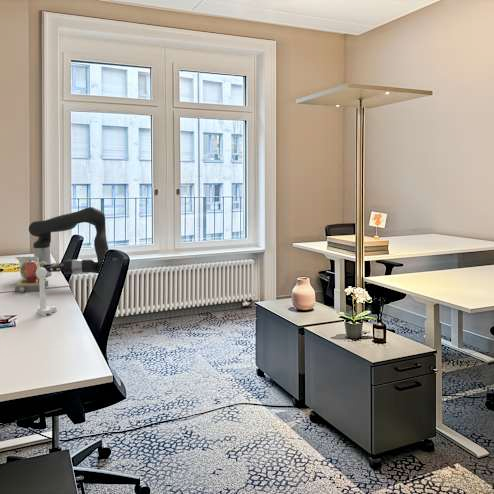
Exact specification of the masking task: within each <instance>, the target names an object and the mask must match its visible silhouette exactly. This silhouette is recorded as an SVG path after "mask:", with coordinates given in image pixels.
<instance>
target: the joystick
mask: <svg viewBox="0 0 494 494" xmlns="http://www.w3.org/2000/svg"><path fill="white" fill-rule="evenodd" d="M46 274H47V271H46V269H45V268H43V267H40V268H38V269H37V270H36V275H37V276H38V277H39V278H38V279H39V287H40V291H39V305H37V314H38V315H40V316H42V317H46V316H47V315H52V313H56V312H57V305H50V306H48V305H47V298H46V297H47V296H46V289H45V284H44V279H45V277H47V276H46Z"/></svg>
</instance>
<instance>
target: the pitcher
mask: <svg viewBox="0 0 494 494" xmlns="http://www.w3.org/2000/svg"><path fill="white" fill-rule="evenodd" d="M14 259H16V260H18V263H19V273H20V276H21V278H22V279H21V280H24V279H26V269H25V263H27V261H29V256H15V257H14ZM31 260H34V261H35V262H37V269H38V268H40V264H44V265H45V264H46V262H44V261H42V262H39V257H34V256H31ZM37 278H38V279H39V277H38V276H37Z"/></svg>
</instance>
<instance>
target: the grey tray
mask: <svg viewBox="0 0 494 494" xmlns="http://www.w3.org/2000/svg"><path fill="white" fill-rule="evenodd" d="M44 284H45V290H46V289H47V288H48V287H49V280H47V278H44ZM14 292H15V293H25V292H40V287H39V278H38V283H26V279H24V280H23V279H21V280H20V281H19V282H17V283H16V285H15V286H14Z"/></svg>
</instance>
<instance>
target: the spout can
mask: <svg viewBox="0 0 494 494" xmlns="http://www.w3.org/2000/svg"><path fill="white" fill-rule="evenodd" d="M28 257H29V261H27V263H25V269H26V283H38V279H39V278H37V275H36V270H37V262H35V261H34V260H31V257H32V256H31V255H28Z"/></svg>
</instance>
